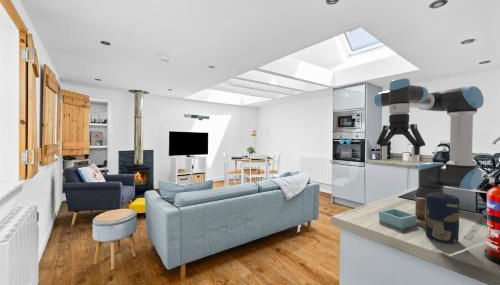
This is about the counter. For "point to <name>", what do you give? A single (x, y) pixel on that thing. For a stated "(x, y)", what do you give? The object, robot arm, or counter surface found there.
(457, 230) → the canister
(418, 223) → the lid
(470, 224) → the counter surface
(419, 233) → the counter surface
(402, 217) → the dish
